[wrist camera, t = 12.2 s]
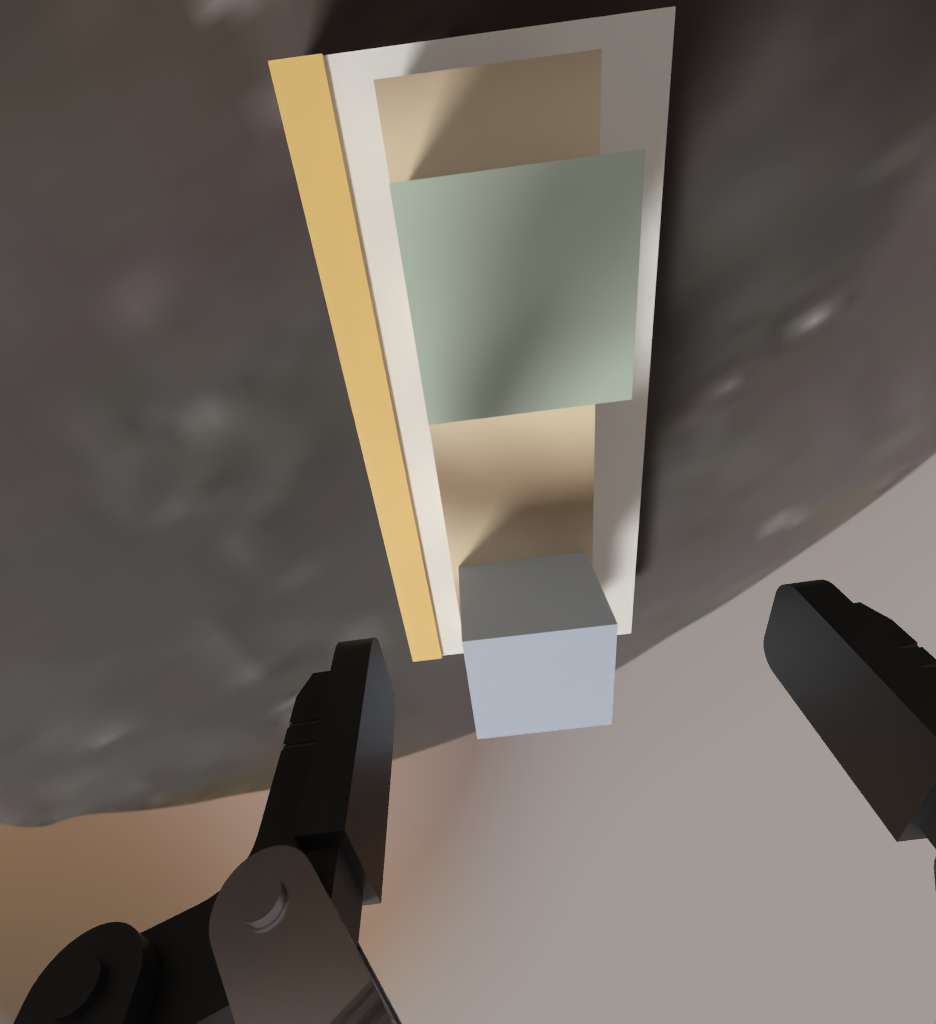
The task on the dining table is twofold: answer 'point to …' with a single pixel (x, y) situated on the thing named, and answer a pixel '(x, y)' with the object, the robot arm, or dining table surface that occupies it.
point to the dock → (384, 302)
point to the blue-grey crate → (537, 645)
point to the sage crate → (523, 284)
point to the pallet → (527, 436)
